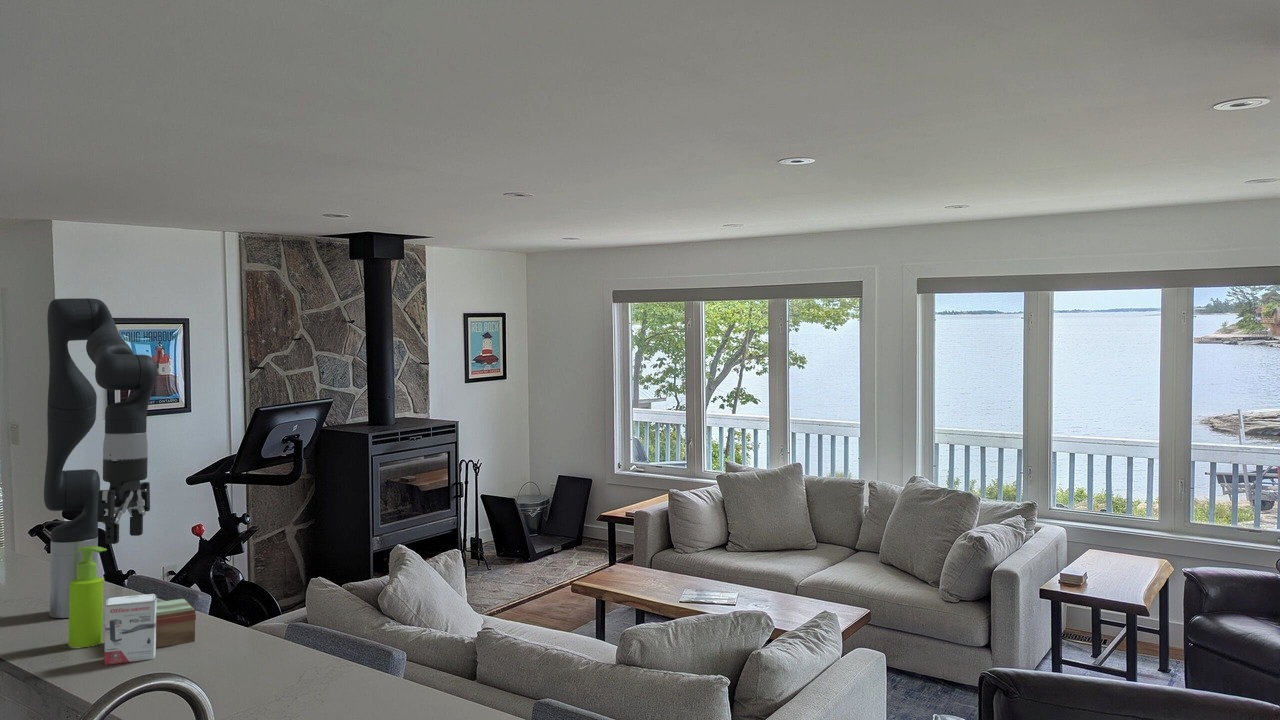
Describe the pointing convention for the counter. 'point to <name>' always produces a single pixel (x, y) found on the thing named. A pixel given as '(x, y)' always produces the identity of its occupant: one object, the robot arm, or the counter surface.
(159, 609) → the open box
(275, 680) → the counter surface
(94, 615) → the soap dispenser
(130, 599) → the ink box
